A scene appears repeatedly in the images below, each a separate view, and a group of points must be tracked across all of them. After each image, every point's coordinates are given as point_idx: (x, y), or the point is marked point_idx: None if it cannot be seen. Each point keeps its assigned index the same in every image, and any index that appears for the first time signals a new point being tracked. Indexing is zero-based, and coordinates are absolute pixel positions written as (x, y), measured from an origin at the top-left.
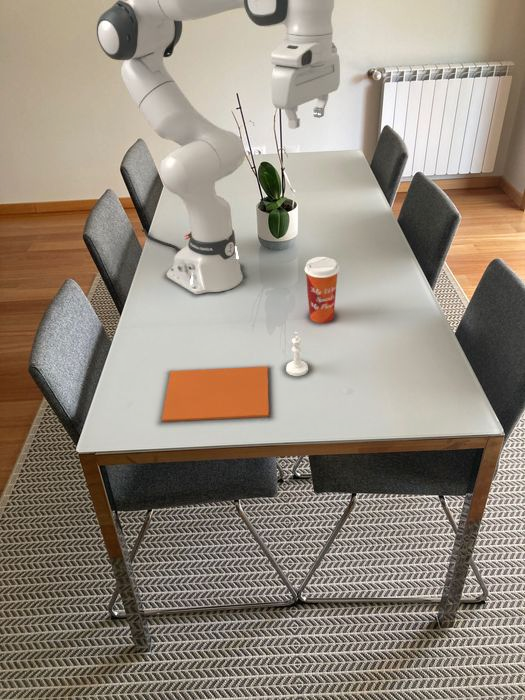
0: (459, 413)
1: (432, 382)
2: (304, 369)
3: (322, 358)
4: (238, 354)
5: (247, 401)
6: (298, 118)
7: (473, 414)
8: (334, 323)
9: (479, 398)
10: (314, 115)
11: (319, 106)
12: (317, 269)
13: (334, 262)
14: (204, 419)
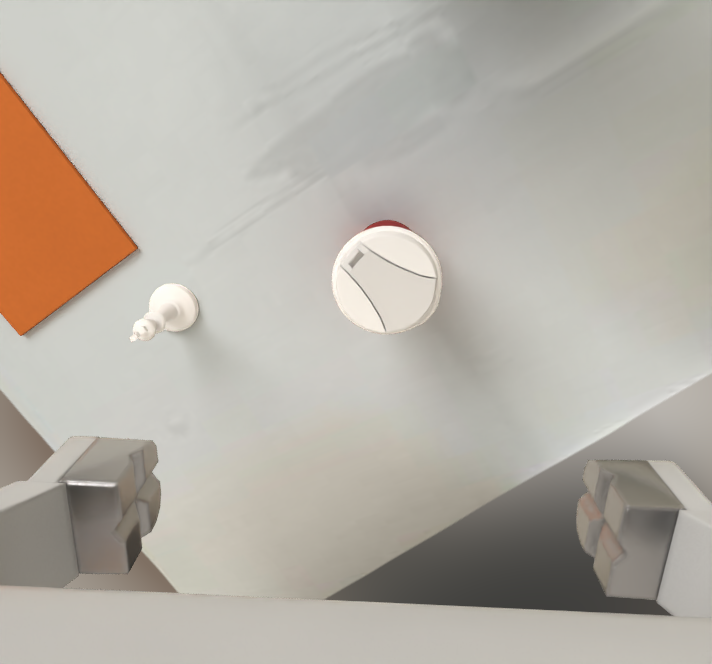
0: None
1: (289, 541)
2: (171, 329)
3: (238, 335)
4: (138, 153)
5: (20, 278)
6: (118, 562)
7: None
8: None
9: None
10: (591, 470)
11: (683, 565)
12: (347, 291)
13: (413, 316)
14: None
